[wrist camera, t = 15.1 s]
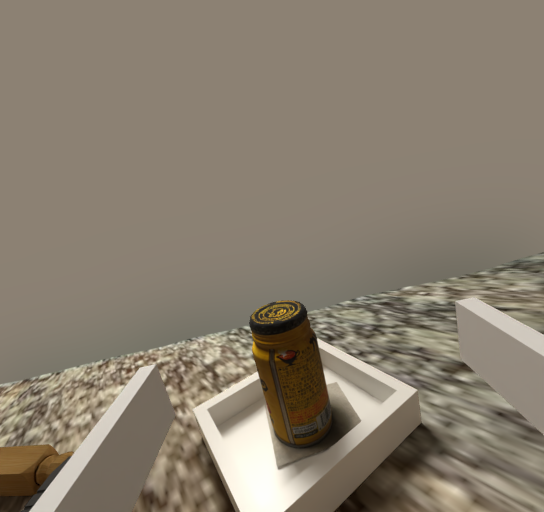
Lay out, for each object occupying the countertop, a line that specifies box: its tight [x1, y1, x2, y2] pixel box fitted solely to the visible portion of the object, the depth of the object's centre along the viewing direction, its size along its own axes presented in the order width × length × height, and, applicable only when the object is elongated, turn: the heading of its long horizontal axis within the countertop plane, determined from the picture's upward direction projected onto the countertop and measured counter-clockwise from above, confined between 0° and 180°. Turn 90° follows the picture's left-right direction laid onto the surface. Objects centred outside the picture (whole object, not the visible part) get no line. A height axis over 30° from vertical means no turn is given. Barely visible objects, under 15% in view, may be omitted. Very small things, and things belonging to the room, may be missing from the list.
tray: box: [193, 339, 421, 512], centre depth 27 cm, size 17×14×4 cm
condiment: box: [249, 300, 361, 467], centre depth 26 cm, size 7×8×12 cm
